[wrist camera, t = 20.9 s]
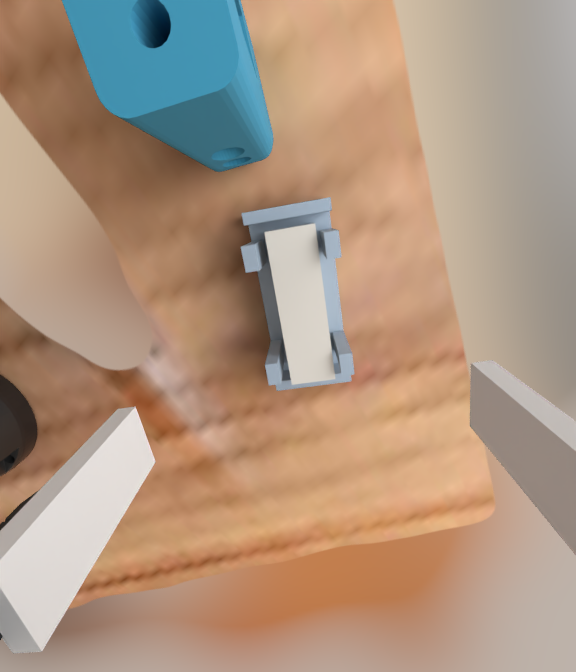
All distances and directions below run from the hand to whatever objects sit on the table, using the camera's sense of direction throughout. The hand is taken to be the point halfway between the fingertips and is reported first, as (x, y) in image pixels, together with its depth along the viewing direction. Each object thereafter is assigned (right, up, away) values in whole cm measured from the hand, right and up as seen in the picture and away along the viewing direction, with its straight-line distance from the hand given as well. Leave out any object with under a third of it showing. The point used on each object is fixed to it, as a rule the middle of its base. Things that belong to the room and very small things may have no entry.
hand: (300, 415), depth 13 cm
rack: (+1, +7, +20) cm, 22 cm away
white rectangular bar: (+1, +7, +19) cm, 21 cm away
